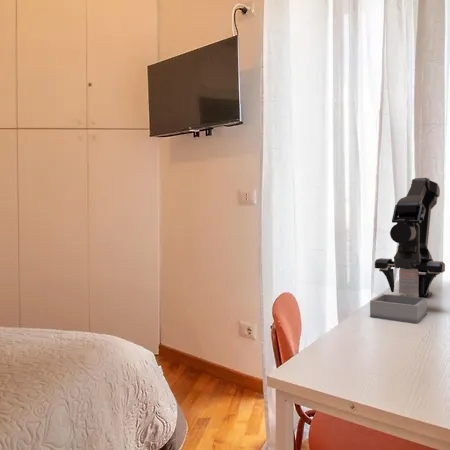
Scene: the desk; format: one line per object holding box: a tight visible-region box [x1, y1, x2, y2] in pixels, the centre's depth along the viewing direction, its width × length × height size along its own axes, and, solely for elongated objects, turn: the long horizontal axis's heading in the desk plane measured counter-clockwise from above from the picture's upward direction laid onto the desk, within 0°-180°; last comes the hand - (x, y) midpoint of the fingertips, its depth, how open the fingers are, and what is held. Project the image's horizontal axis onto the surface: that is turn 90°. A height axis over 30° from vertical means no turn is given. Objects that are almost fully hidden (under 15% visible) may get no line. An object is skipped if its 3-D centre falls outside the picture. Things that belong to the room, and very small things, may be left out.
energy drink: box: [398, 268, 420, 298], centre depth 122 cm, size 5×5×12 cm
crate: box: [369, 293, 428, 324], centre depth 113 cm, size 12×12×4 cm
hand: (408, 293), depth 122 cm, fingers open, 9 cm apart
